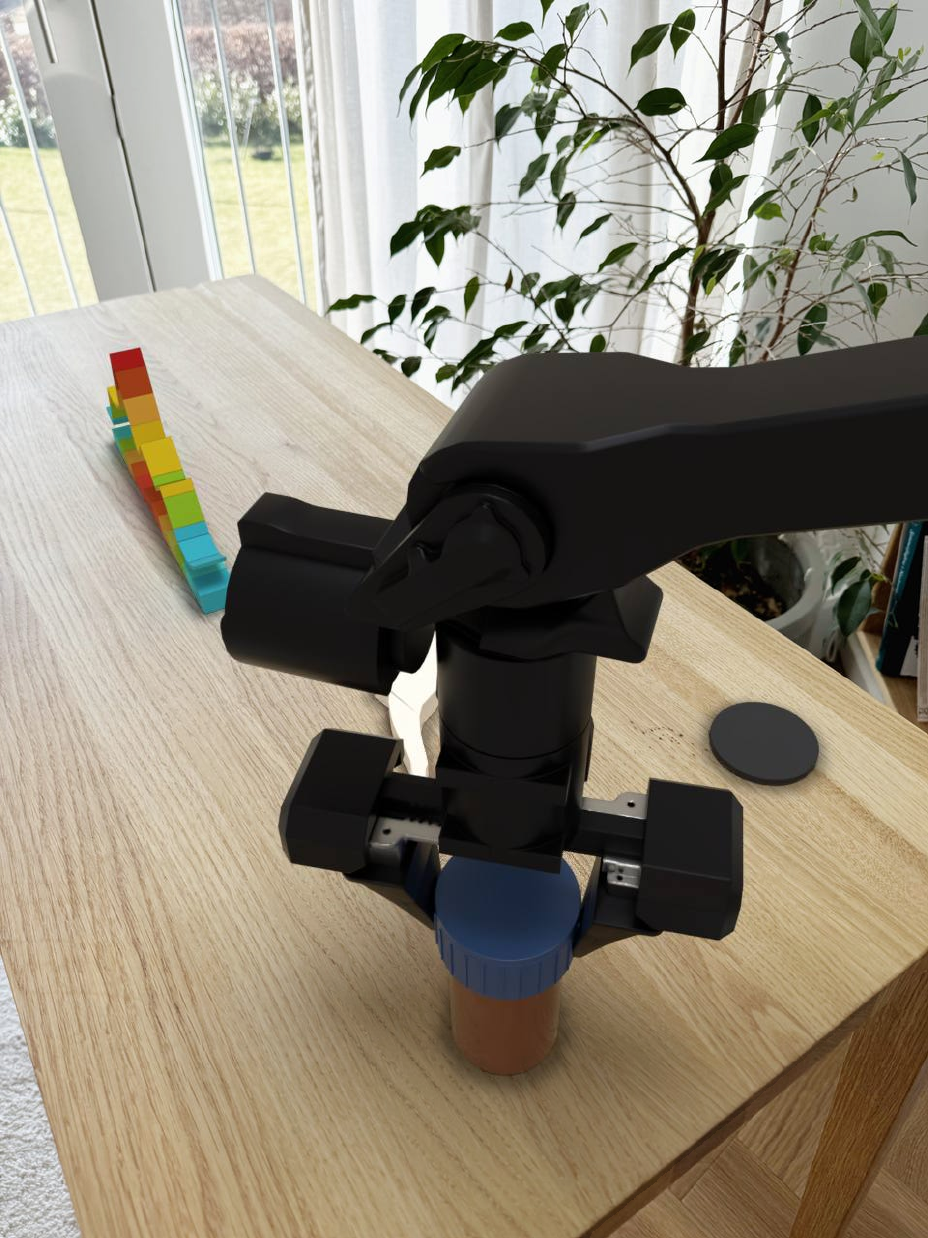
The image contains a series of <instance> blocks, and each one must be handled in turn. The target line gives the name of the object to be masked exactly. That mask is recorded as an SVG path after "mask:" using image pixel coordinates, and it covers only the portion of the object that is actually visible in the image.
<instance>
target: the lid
mask: <svg viewBox="0 0 928 1238" xmlns="http://www.w3.org/2000/svg"><path fill="white" fill-rule="evenodd" d="M434 898H435V912H434V925H435V931H434V939H435V940H434V941H435V945H437V948H438V953H439V956H440V957H439V958H440V961H442V962H443V964H444V966H445V968H446V969H447V971H448V973H449V972H450V974H451V975H452V976H453V977H454V978H456V979H457V980H458V981H459V982H460V983H461V984H462V985H464V987H466V988H468V989H470V990H472V991H473V992H475V993H478V994H480V995H483V996H486V997H489V998H494V999H500V1000H516V999H523V998H528V997H531V996H534V995H537V994H540V993H542V992H543V991H545V990H547V989H549V988H550V987H551V986H553V985H554V984H556V983H557V982H558V981H559V980H560V979H561V978H562V979H563V977H564V976H565V974H567V972H568V971H570V966H571V965H572V964H573V961H574V958H575V957H574V956H573V951H572V949H573V945H574V941H575V937H576V933H577V930H578V927H579V919H580V912H581V909H582V907H581V902H582V892H581V886H580V882H579V880H578V878H577V875H576V874H575V871H574V870H573V868H572V867H571V865H570V864H569V862H567V860H566V859H565V858H564V857H562V863H561V869H560V875H559V874H554V873H548V872H542V871H536V870H531V869H525V868H519V867H514V866H508V865H502V864H496V863H491V862H485V861H479V860H474V859H468V858H462V857H456V856H451V857H450V858H448V860H447V861H446V863H445V864H444V865H443V867H442V868H441V872H440V874H439V877H438V879H437V882H436V887H435V897H434Z"/></svg>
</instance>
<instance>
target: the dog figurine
mask: <svg viewBox="0 0 928 1238" xmlns="http://www.w3.org/2000/svg"><path fill="white" fill-rule="evenodd" d="M436 678H437V661H436V636H435V634H434V638H433V641H432V644H431V647H430V650H429V653H428V655H427V657H426V659H425V661H424V663H423V665H422V666H421V668H420V669H419V670H418V671H417V672H416V673H414V674H409V673H404V672H400V673H399V675H398V677H397V678H396V680H395V681H394V682H393V685H392V689H391V692H390V694H389V695H388V696H382V695H378V694H374V698H375V699H377V700H378V701H379V702H380V703H381V704H383V706H385V707H386V708H388V713H389V723H390V729H391V734H392V737H394V738H400V739H404V752H405V755H404V758H403V761H402V762H403V763H404V766H405V768H406V770H407V772H408V773H407V774H411V775H418V776H424V777H430V774H429V773H430V771H429V770H430V769H429V761H428V757H427V753H426V750H425V746H424V742H423V738H422V730H423V726H424V724H425V723H426V721H428V719H429V718H430V717H432V715H433V714H434V713H435V712H436V710H437V709H438V699H437V698H436Z"/></svg>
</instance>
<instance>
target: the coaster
mask: <svg viewBox="0 0 928 1238" xmlns="http://www.w3.org/2000/svg"><path fill="white" fill-rule="evenodd" d="M708 738H709V744H710V748H711V751H712V753H713V754H714V756H715V757H716V759H717V760H718V761H719V763H720V764H721V765H722V766H724V767H725V768H726V770H728V771H729V772H731V773H732V774H735V776H738V777H740V778H742V779H744V780H747V781H749V782H753V783H756V784H761V785H766V786H767V785H768V786H782V785H783V786H784V785H789V784H793V783H796V782H798V781H800V780H803V779H804V778H805V777H807V776H808V775H810V773H811V772H812V771H813V769H814V768H815V766H816V764H817V762H818V758H819V754H820V746H819V740H818V738H817V736H816V734H815V732H814V731H813V729H812V728H811V726H809V724H807V722H805V720H803V719H802V718H801V717H800V716H798V715H797V714H795V713H794V712H792V711H791V710H788V709H786V708H784V707H781V706H779V705H776V704H773V703H768V702H762V701H761V702H760V701H744V702H739V703H734V704H732V705H729V706H727V707H725V708H724V709H722V710H721V711H720V712H719V713H718V714H716V716H715V717H714V718H713V720H712V722H711V726H710V729H709V735H708Z"/></svg>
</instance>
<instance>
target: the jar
mask: <svg viewBox="0 0 928 1238" xmlns="http://www.w3.org/2000/svg"><path fill="white" fill-rule="evenodd" d="M448 973H449V997H450V1018H451V1021H450V1022H451V1031H452V1037H453V1039H454V1041H455V1044H456V1046H457V1048H458V1049H459V1051H460V1052H461V1054H462V1055H463V1056H464V1057H465V1058H466V1059H467V1060H468V1061H469V1063H471V1064H473V1065H474V1066H475V1067H477V1068H478V1069H480V1070H483V1071H485V1072H488V1073H491V1074H495V1075H502V1076H503V1075H506V1076H507V1075H509V1076H510V1075H516V1074H520V1073H521V1074H522V1073H524V1072H526V1071H528V1070H531V1069H532V1068H534V1067H536V1066H537V1065H538V1064H540V1063H541V1062H542V1061H543V1060H544V1059H545V1058H546V1057H547V1056H548V1055H549V1053H550V1052H551V1050H552V1049H553V1046H554V1043H555V1041H556V1039H557V1033H558V1027H559V1026H558V1025H559V1015H560V1004H561V995H562V984H563V977H562V978H561V979H560V980H559V981H558V982H557V983H556V984H554V985H553V986H551V987H550V988H549V989H547V990H545V991H543V992H542V993H540V994H537V995H534V996H531V997H528V998H523V999H516V1000H500V999H494V998H489V997H486V996H483V995H480V994H478V993H475V992H473V991H472V990H470V989H468V988H466V987H464V985H462V984H461V983H460V982H459V981H458V980H457V979H456V978H454V977H453V976H452V975H451V974H450V972H449V971H448Z"/></svg>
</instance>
